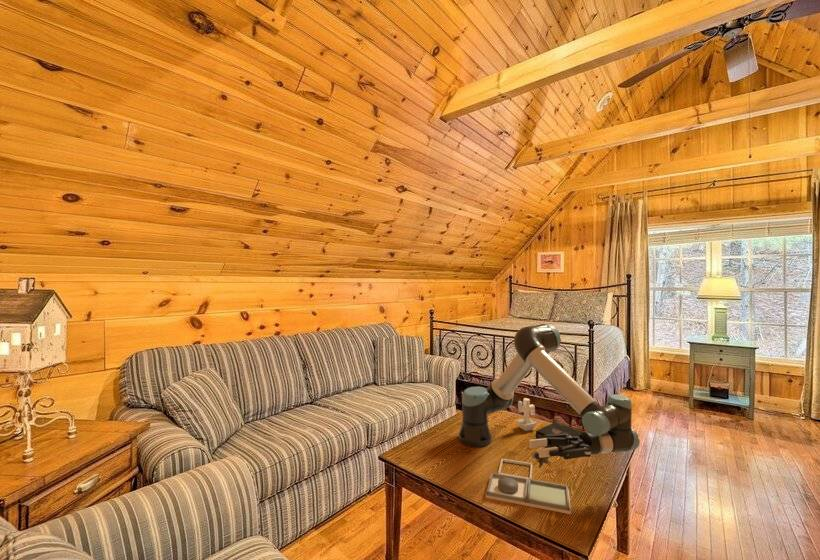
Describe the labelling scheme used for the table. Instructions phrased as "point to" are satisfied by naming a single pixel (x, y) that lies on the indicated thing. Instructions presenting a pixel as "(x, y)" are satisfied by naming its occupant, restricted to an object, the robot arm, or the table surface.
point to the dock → (529, 492)
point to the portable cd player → (557, 430)
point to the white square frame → (516, 463)
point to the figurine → (526, 415)
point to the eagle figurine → (541, 460)
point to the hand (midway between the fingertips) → (534, 448)
